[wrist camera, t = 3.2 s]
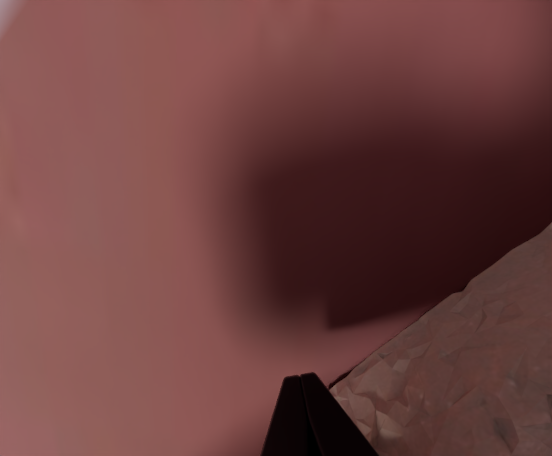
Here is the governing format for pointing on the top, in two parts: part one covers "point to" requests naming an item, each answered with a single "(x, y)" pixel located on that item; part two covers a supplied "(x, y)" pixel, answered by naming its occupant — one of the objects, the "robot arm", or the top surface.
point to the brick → (466, 369)
